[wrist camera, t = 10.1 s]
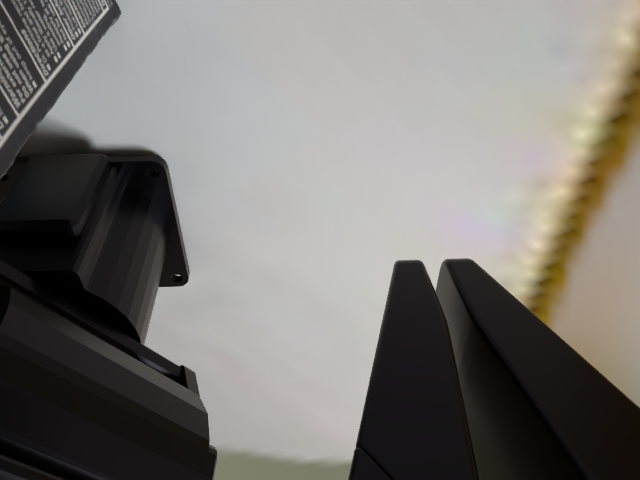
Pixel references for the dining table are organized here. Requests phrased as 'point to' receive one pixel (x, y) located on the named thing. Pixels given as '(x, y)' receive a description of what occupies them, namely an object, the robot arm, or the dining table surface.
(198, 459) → the robot arm
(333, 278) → the dining table surface
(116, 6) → the small box
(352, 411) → the dining table surface
